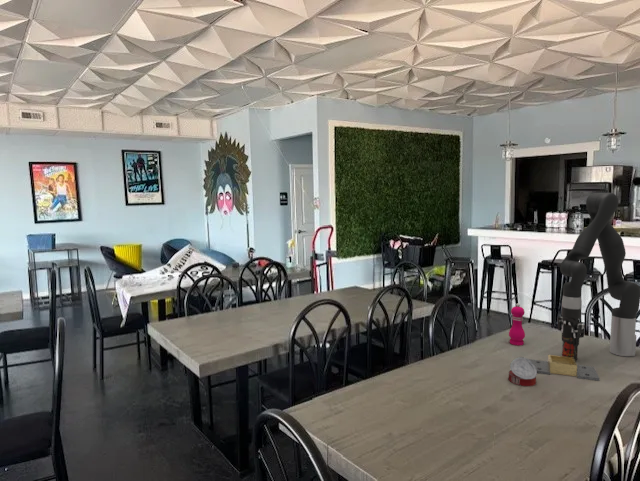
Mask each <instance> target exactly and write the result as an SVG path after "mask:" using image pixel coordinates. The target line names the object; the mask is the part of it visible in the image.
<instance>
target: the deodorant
mask: <svg viewBox="0 0 640 481" xmlns="http://www.w3.org/2000/svg"><path fill="white" fill-rule="evenodd" d="M573 329H574V330H578V328H577V327H575V328H574V327H573ZM575 333H576V335H577V332H575ZM573 338H574V336H573V333H572V327H571V326H569V325H567V324H566V325H565V324H563V341H562V343H561V344H562V348H561V356H565V357H574V359H575V361H577V360H578V349H579V345H578V346H573Z"/></svg>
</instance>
